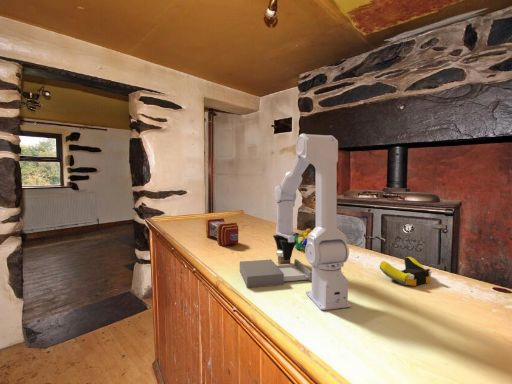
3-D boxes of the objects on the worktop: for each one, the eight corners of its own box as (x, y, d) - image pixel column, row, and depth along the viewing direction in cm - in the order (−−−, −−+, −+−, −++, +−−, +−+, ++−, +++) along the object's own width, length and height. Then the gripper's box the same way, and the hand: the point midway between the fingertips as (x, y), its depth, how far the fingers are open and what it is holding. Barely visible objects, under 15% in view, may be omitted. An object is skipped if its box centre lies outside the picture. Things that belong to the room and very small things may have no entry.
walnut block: (290, 265, 92) (290, 255, 92) (280, 266, 91) (281, 256, 91) (286, 262, 96) (287, 252, 95) (277, 262, 95) (278, 253, 95)
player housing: (283, 284, 76) (283, 273, 76) (247, 288, 74) (247, 276, 73) (271, 268, 89) (271, 259, 89) (239, 271, 86) (239, 261, 86)
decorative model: (330, 240, 112) (306, 235, 104) (322, 258, 113) (298, 255, 105) (310, 227, 123) (287, 222, 114) (303, 244, 124) (280, 240, 115)
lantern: (202, 217, 136) (225, 227, 110) (219, 215, 140) (245, 225, 114) (202, 235, 136) (225, 250, 110) (219, 233, 141) (244, 247, 115)
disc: (294, 256, 91) (294, 252, 91) (279, 257, 90) (279, 253, 90) (288, 251, 97) (288, 248, 97) (274, 252, 95) (274, 249, 95)
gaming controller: (375, 277, 83) (404, 290, 73) (376, 260, 82) (405, 271, 73) (408, 270, 89) (438, 282, 79) (408, 255, 88) (439, 264, 79)
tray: (313, 280, 79) (313, 272, 78) (278, 283, 76) (278, 275, 76) (297, 266, 91) (297, 259, 91) (266, 268, 88) (267, 261, 88)
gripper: (303, 223, 86) (302, 263, 87) (288, 216, 100) (287, 250, 101) (283, 223, 85) (282, 264, 86) (270, 216, 99) (270, 251, 100)
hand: (284, 257), depth 93 cm, fingers closed on disc, 6 cm apart
